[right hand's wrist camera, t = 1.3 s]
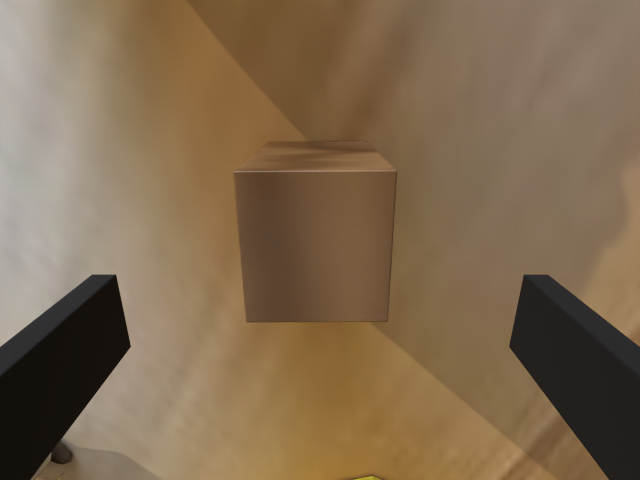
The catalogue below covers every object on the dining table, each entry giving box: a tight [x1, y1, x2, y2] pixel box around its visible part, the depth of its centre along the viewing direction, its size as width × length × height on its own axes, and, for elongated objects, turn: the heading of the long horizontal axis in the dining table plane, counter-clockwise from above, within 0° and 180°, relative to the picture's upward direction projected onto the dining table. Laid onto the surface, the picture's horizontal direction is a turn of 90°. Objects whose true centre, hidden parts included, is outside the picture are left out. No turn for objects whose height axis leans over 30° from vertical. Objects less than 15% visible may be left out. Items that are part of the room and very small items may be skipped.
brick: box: [233, 141, 397, 322], centre depth 24 cm, size 7×8×12 cm
